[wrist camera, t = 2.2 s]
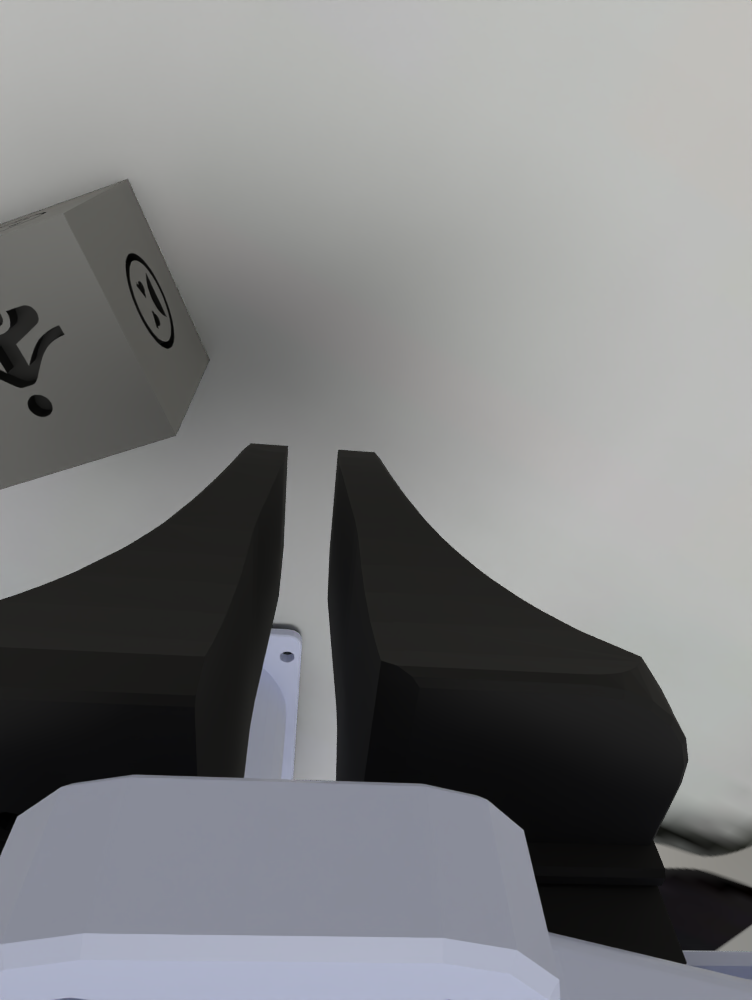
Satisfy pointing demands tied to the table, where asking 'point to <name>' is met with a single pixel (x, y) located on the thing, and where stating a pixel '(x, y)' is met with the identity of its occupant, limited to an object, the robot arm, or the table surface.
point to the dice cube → (89, 337)
